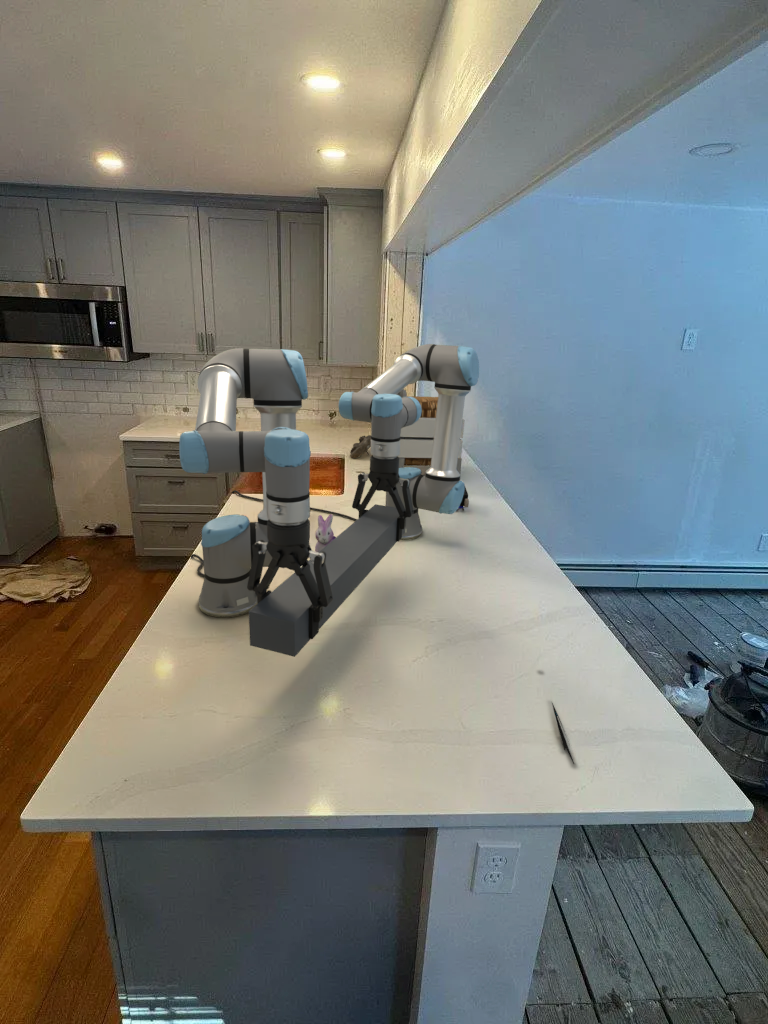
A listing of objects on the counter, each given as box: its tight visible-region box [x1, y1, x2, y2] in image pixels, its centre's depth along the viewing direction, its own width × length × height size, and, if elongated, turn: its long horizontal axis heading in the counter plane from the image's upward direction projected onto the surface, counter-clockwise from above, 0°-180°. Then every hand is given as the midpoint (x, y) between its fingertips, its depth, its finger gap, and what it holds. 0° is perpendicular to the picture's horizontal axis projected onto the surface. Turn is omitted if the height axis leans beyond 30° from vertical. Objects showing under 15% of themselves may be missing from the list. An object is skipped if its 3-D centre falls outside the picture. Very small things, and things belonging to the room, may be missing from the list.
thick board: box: [248, 504, 406, 658], centre depth 129 cm, size 65×9×7 cm, turn 161°
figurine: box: [314, 513, 337, 552], centre depth 173 cm, size 9×10×15 cm
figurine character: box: [456, 485, 470, 512], centre depth 229 cm, size 7×8×15 cm
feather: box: [540, 670, 575, 765], centre depth 113 cm, size 2×28×2 cm
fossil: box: [349, 434, 371, 459], centre depth 303 cm, size 22×10×15 cm
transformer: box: [397, 388, 465, 475], centre depth 268 cm, size 34×33×41 cm
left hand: (290, 629), depth 108 cm, fingers closed on thick board, 9 cm apart
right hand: (381, 536), depth 153 cm, fingers closed on thick board, 9 cm apart
